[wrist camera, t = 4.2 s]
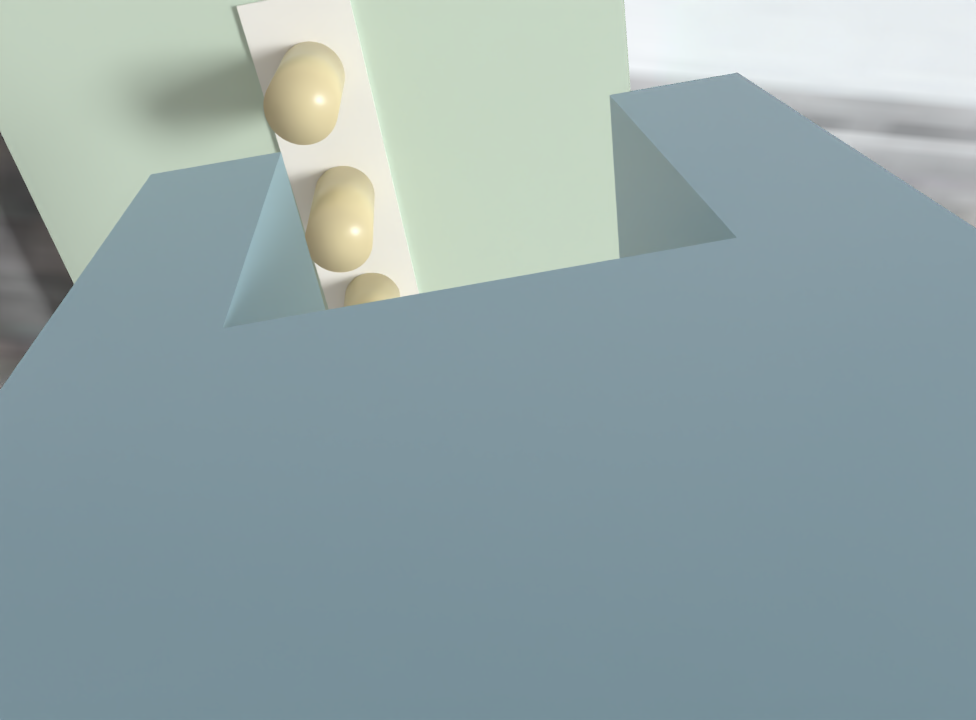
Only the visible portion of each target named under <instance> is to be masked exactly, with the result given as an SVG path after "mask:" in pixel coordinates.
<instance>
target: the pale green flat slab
mask: <svg viewBox="0 0 976 720" xmlns="http://www.w3.org/2000/svg"><path fill="white" fill-rule="evenodd" d="M624 92H630V77H629V63H628V49H627V35H626V21H625V7H624V0H0V132H1V134H2V136H3V138H4V140H5V143H6V145H7V147H8V149H9V151H10V153H11V155H12V157H13V159H14V161H15V163H16V165H17V167H18V169H19V171H20V174H21V176H22V178H23V180H24V182H25V184H26V186H27V188H28V190H29V192H30V194H31V196H32V198H33V200H34V203H35V205H36V207H37V209H38V211H39V213H40V215H41V217H42V219H43V221H44V223H45V225H46V227H47V229H48V232H49V234H50V236H51V238H52V240H53V242H54V244H55V246H56V248H57V250H58V252H59V254H60V256H61V258H62V260H63V263H64V265H65V267H66V269H67V271H68V273H69V275H70V277H71V279H72V281H73V283H74V284H75V282H76V281H77V279H78V278H79V276H80V275H81V274H82V272H83V271H84V269H85V268H86V266H87V265H88V264H89V262H90V261H91V259H92V258H93V256H94V255H95V254H96V252H97V251H98V249H99V248H100V246H101V245H102V244H103V242H104V241H105V239H106V238H107V236H108V235H109V234H110V232H111V231H112V229H113V228H114V226H115V225H116V224H117V222H118V221H119V219H120V218H121V216H122V215H123V214H124V212H125V211H126V209H127V208H128V206H129V205H130V204H131V202H132V201H133V199H134V198H135V196H136V195H137V194H138V192H139V191H140V189H141V188H142V186H143V185H144V184H145V182H146V181H147V179H148V178H149V176H150V175H151V174H156V173H162V172H167V171H173V170H179V169H185V168H191V167H196V166H202V165H208V164H214V163H219V162H225V161H231V160H237V159H243V158H248V157H254V156H260V155H266V154H271V153H277V152H281V154H282V157H283V161H284V164H285V168H286V171H287V175H288V178H289V182H290V186H291V189H292V193H293V196H294V200H295V203H296V207H297V210H298V214H299V217H300V221H301V225H302V228H303V232H304V235H305V239H306V242H307V246H308V249H309V253H310V256H311V260H312V264H313V267H314V271H315V274H316V278H317V281H318V285H319V288H320V292H321V295H322V299H323V303H324V306H325V310H329V309H335V308H341V307H346V306H352V305H358V304H363V303H369V302H375V301H380V300H386V299H392V298H397V297H403V296H409V295H414V294H420V293H426V292H431V291H437V290H443V289H448V288H454V287H460V286H465V285H471V284H477V283H482V282H488V281H494V280H499V279H505V278H511V277H517V276H522V275H528V274H534V273H539V272H545V271H551V270H556V269H562V268H568V267H573V266H579V265H585V264H590V263H596V262H602V261H607V260H613V259H619V258H620V257H619V241H618V224H617V208H616V192H615V176H614V160H613V143H612V127H611V111H610V95H612V94H618V93H624Z"/></svg>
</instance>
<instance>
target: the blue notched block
mask: <svg viewBox="0 0 976 720" xmlns="http://www.w3.org/2000/svg"><path fill="white" fill-rule="evenodd" d="M610 111H611V127H612V143H613V160H614V176H615V192H616V208H617V224H618V241H619V257H620V258H619V259H613V260H607V261H602V262H596V263H590V264H585V265H579V266H573V267H568V268H562V269H556V270H551V271H545V272H539V273H534V274H528V275H522V276H517V277H511V278H505V279H499V280H494V281H488V282H482V283H477V284H471V285H465V286H460V287H454V288H448V289H443V290H437V291H431V292H426V293H420V294H414V295H409V296H403V297H397V298H392V299H386V300H380V301H375V302H369V303H363V304H358V305H352V306H346V307H341V308H335V309H329V310H325V306H324V303H323V299H322V295H321V292H320V288H319V285H318V281H317V278H316V274H315V271H314V267H313V264H312V260H311V256H310V253H309V249H308V246H307V242H306V239H305V235H304V232H303V228H302V225H301V221H300V217H299V214H298V210H297V207H296V203H295V200H294V196H293V193H292V189H291V186H290V182H289V178H288V175H287V171H286V168H285V164H284V161H283V157H282V154H281V152H277V153H271V154H266V155H260V156H254V157H248V158H243V159H237V160H231V161H225V162H219V163H214V164H208V165H202V166H196V167H191V168H185V169H179V170H173V171H167V172H162V173H156V174H151V175H150V176H149V178H148V179H147V181H146V182H145V184H144V185H143V186H142V188H141V189H140V191H139V192H138V194H137V195H136V196H135V198H134V199H133V201H132V202H131V204H130V205H129V206H128V208H127V209H126V211H125V212H124V214H123V215H122V216H121V218H120V219H119V221H118V222H117V224H116V225H115V226H114V228H113V229H112V231H111V232H110V234H109V235H108V236H107V238H106V239H105V241H104V242H103V244H102V245H101V246H100V248H99V249H98V251H97V252H96V254H95V255H94V256H93V258H92V259H91V261H90V262H89V264H88V265H87V266H86V268H85V269H84V271H83V272H82V274H81V275H80V276H79V278H78V279H77V281H76V282H75V284H74V285H73V286H72V288H71V289H70V291H69V292H68V294H67V295H66V296H65V298H64V299H63V301H62V302H61V304H60V305H59V306H58V308H57V309H56V311H55V312H54V314H53V315H52V316H51V318H50V319H49V321H48V322H47V324H46V325H45V327H44V328H43V329H42V331H41V332H40V334H39V335H38V337H37V338H36V339H35V341H34V342H33V344H32V345H31V347H30V348H29V349H28V351H27V352H26V354H25V355H24V357H23V358H22V359H21V361H20V362H19V364H18V365H17V367H16V368H15V369H14V371H13V372H12V374H11V375H10V377H9V378H8V379H7V381H6V382H5V384H4V385H3V387H2V388H1V389H0V720H976V228H975V227H973V226H972V225H970V224H969V223H967V222H965V221H964V220H962V219H961V218H959V217H958V216H956V215H955V214H953V213H952V212H950V211H949V210H947V209H946V208H944V207H942V206H941V205H939V204H938V203H936V202H935V201H933V200H932V199H930V198H929V197H927V196H926V195H924V194H923V193H921V192H919V191H918V190H916V189H915V188H913V187H912V186H910V185H909V184H907V183H906V182H904V181H903V180H901V179H900V178H898V177H896V176H895V175H893V174H892V173H890V172H889V171H887V170H886V169H884V168H883V167H881V166H880V165H878V164H877V163H875V162H873V161H872V160H870V159H869V158H867V157H866V156H864V155H863V154H861V153H860V152H858V151H857V150H855V149H854V148H852V147H850V146H849V145H847V144H846V143H844V142H843V141H841V140H840V139H838V138H837V137H835V136H834V135H832V134H831V133H829V132H827V131H826V130H824V129H823V128H821V127H820V126H818V125H817V124H815V123H814V122H812V121H811V120H809V119H808V118H806V117H804V116H803V115H801V114H800V113H798V112H797V111H795V110H794V109H792V108H791V107H789V106H788V105H786V104H785V103H783V102H781V101H780V100H778V99H777V98H775V97H774V96H772V95H771V94H769V93H768V92H766V91H765V90H763V89H762V88H760V87H758V86H757V85H755V84H754V83H752V82H751V81H749V80H748V79H746V78H745V77H743V76H742V75H740V74H739V73H734V74H728V75H722V76H716V77H710V78H705V79H699V80H693V81H687V82H682V83H676V84H670V85H664V86H658V87H653V88H647V89H641V90H635V91H630V92H624V93H618V94H612V95H610Z"/></svg>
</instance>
